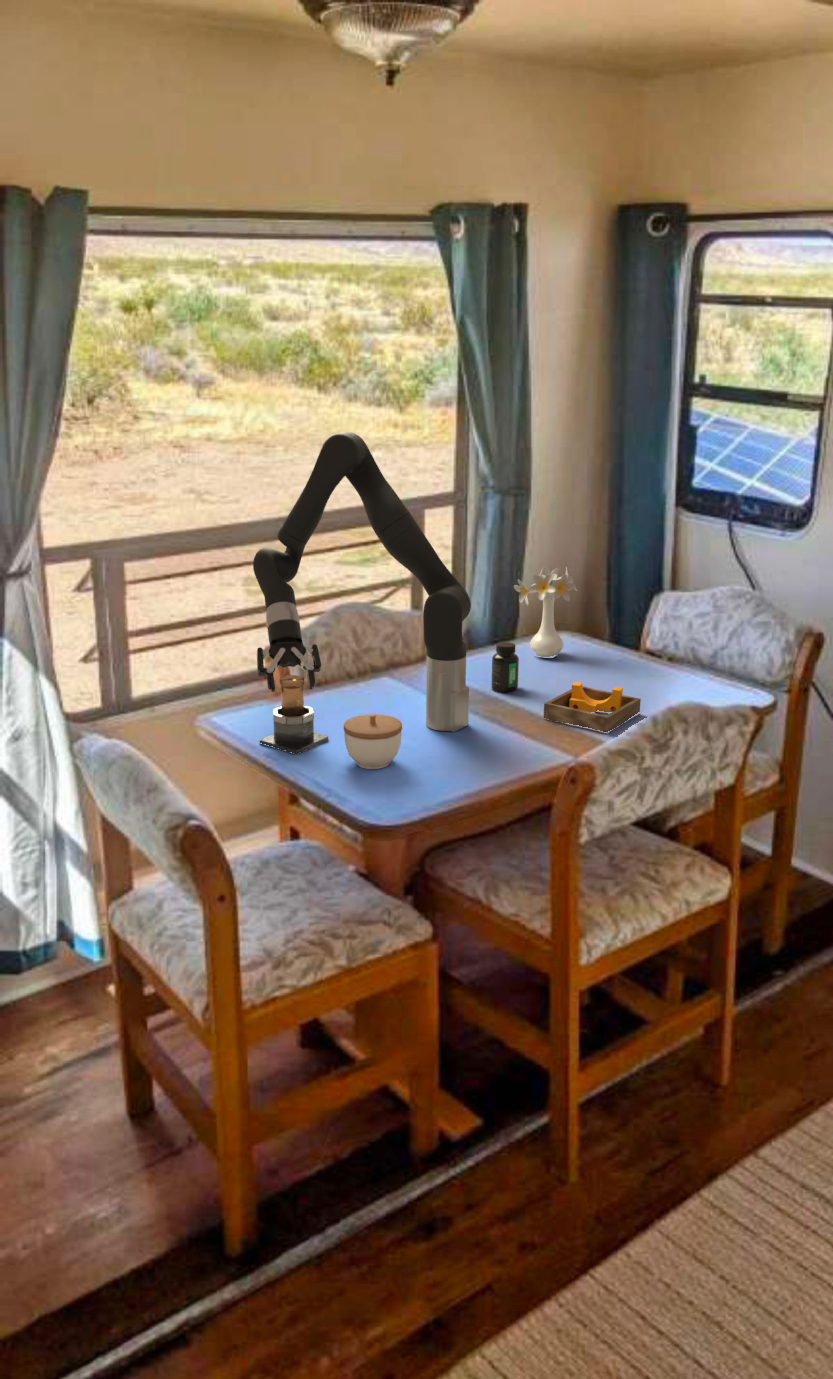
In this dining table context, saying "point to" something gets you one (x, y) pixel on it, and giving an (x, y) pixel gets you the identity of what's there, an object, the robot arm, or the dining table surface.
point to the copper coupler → (292, 695)
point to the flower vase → (547, 608)
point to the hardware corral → (562, 713)
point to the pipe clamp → (590, 705)
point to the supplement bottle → (505, 668)
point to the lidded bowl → (372, 739)
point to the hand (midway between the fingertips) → (292, 689)
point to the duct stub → (294, 732)
